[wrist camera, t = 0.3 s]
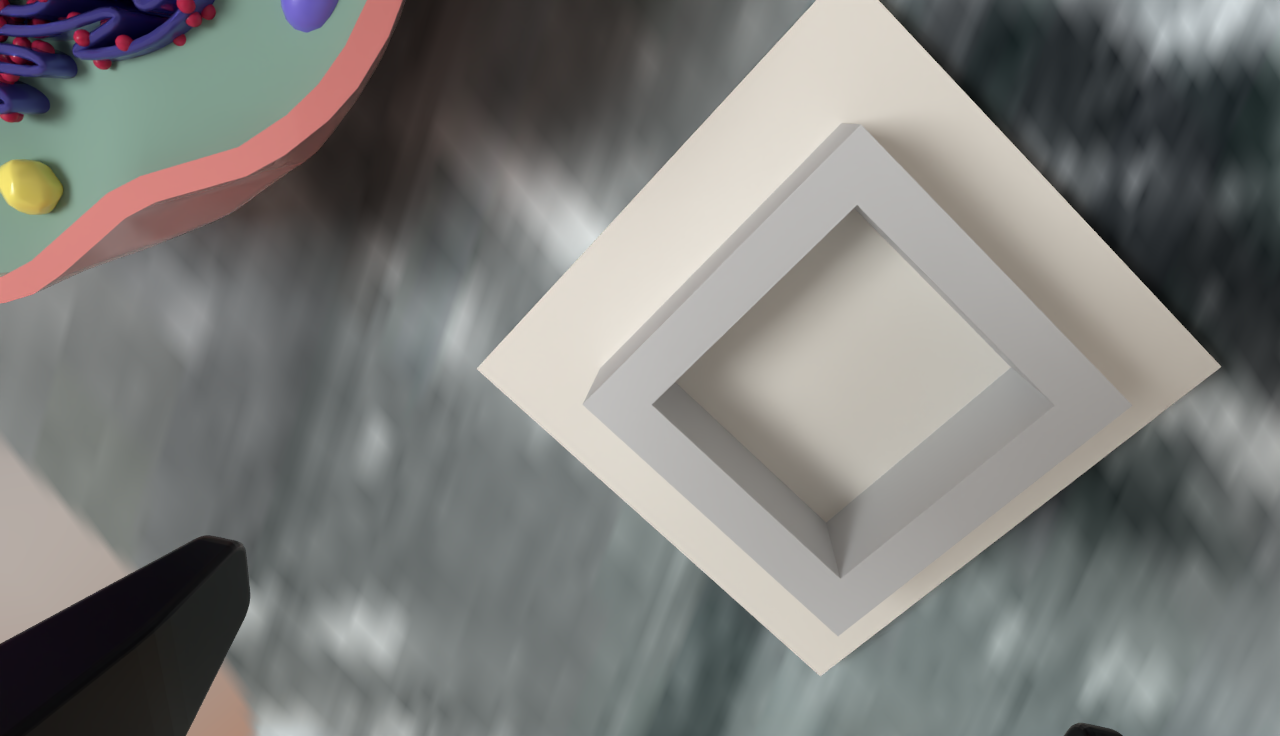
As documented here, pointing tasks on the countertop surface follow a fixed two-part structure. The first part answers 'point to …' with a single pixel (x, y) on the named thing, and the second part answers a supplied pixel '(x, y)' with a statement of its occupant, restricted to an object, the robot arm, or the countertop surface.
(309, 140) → the cell model
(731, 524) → the socket plate
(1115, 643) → the countertop surface
